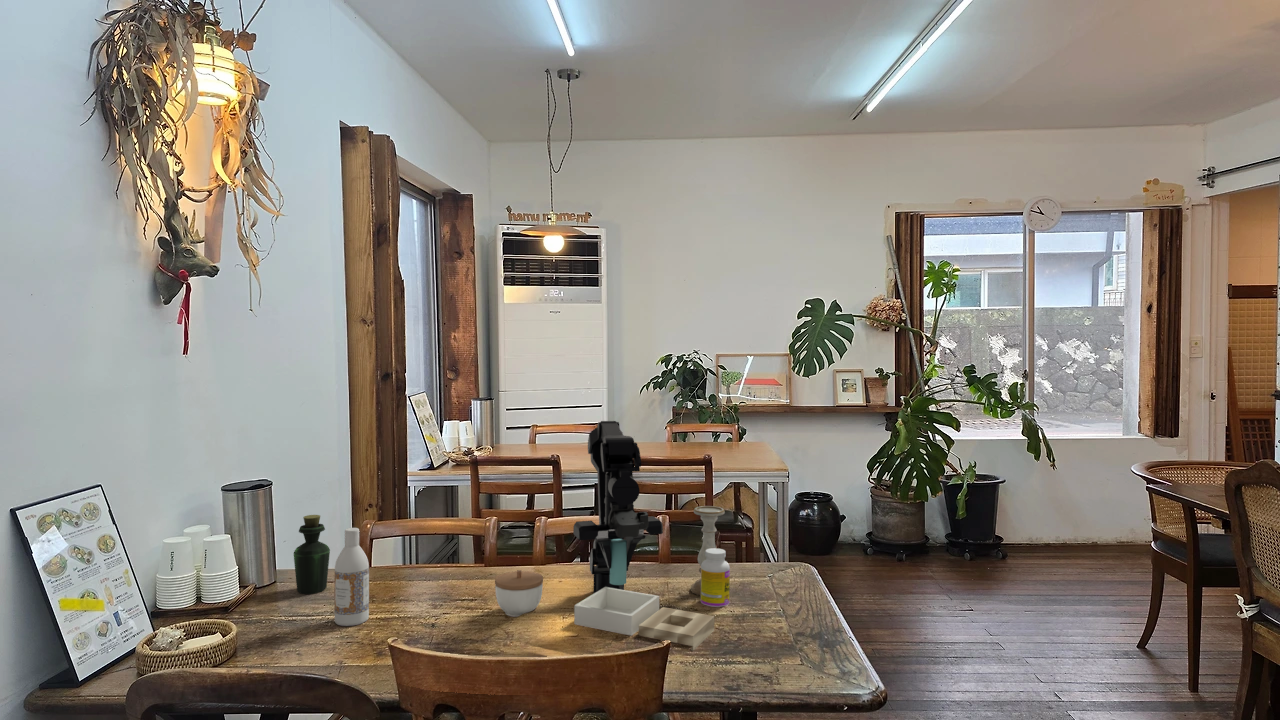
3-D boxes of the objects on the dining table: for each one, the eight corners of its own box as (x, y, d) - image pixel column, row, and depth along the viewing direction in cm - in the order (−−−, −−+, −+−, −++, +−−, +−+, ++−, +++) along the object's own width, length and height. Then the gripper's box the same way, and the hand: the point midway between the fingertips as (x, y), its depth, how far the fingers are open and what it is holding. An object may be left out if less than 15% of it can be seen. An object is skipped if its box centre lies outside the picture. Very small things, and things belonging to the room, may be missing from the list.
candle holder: (732, 589, 183) (733, 508, 182) (716, 599, 175) (717, 514, 175) (700, 583, 187) (701, 503, 187) (684, 592, 180) (684, 510, 180)
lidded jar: (552, 612, 166) (553, 570, 166) (514, 624, 158) (514, 581, 158) (523, 600, 174) (523, 560, 173) (485, 612, 166) (485, 570, 166)
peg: (606, 583, 158) (607, 541, 158) (614, 578, 162) (614, 538, 162) (621, 586, 157) (621, 543, 157) (629, 581, 160) (629, 540, 160)
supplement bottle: (728, 612, 167) (728, 555, 167) (698, 609, 168) (699, 553, 168) (730, 602, 174) (731, 547, 173) (702, 600, 175) (702, 546, 175)
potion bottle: (335, 584, 184) (335, 512, 184) (322, 595, 176) (322, 520, 176) (302, 584, 184) (302, 512, 184) (287, 595, 176) (287, 520, 175)
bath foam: (327, 624, 158) (327, 531, 157) (349, 613, 164) (349, 524, 164) (354, 628, 156) (354, 534, 155) (375, 617, 162) (375, 526, 162)
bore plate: (638, 639, 151) (638, 625, 151) (662, 620, 162) (662, 607, 161) (693, 651, 145) (693, 635, 145) (714, 630, 156) (714, 616, 156)
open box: (574, 628, 156) (574, 605, 156) (605, 608, 169) (605, 586, 169) (631, 640, 151) (631, 616, 150) (659, 618, 163) (659, 596, 163)
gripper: (586, 505, 148) (585, 582, 149) (672, 500, 155) (671, 574, 155) (573, 495, 159) (572, 567, 159) (654, 490, 165) (653, 560, 165)
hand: (618, 567), depth 159 cm, fingers closed on peg, 4 cm apart
